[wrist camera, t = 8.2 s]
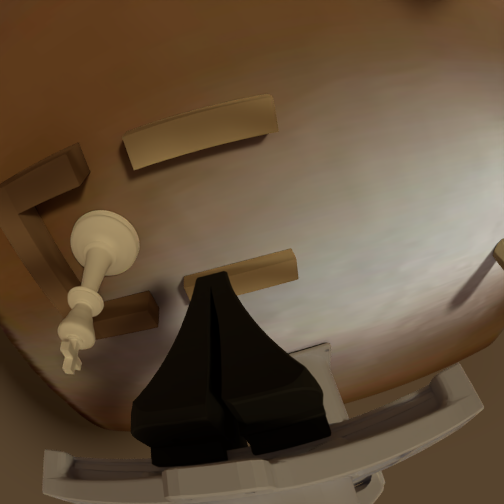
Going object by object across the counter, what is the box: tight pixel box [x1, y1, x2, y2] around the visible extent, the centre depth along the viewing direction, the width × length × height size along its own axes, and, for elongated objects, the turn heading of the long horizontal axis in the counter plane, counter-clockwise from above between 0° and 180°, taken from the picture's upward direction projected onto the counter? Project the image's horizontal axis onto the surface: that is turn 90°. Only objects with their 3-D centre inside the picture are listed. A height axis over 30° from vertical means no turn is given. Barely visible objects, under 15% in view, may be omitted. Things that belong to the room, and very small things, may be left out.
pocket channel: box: [122, 94, 298, 301], centre depth 18 cm, size 13×8×1 cm, turn 11°
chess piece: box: [58, 210, 139, 374], centre depth 14 cm, size 5×5×10 cm
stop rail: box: [0, 143, 159, 340], centre depth 18 cm, size 14×7×2 cm, turn 11°
